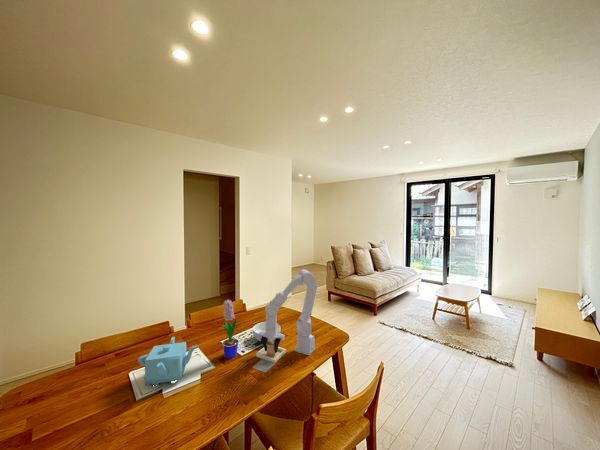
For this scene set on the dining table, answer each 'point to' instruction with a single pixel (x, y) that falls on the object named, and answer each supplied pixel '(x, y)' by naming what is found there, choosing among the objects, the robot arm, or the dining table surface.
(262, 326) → the cereal bowl
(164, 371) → the teakettle
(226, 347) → the hyacinth
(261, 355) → the square beige tray
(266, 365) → the coaster
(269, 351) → the pot
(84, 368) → the dining table surface
